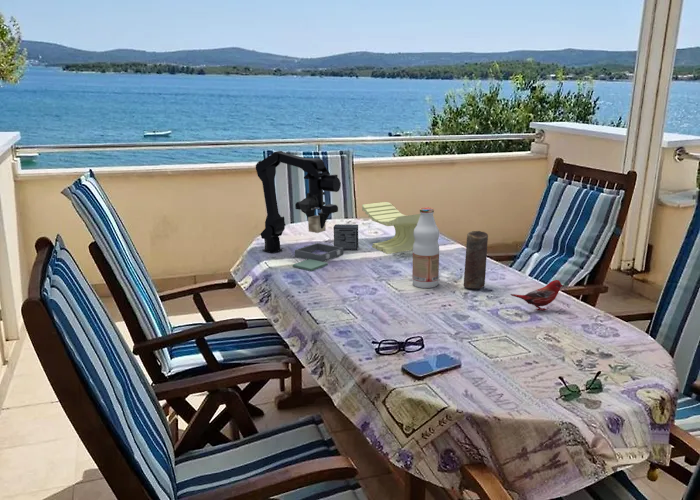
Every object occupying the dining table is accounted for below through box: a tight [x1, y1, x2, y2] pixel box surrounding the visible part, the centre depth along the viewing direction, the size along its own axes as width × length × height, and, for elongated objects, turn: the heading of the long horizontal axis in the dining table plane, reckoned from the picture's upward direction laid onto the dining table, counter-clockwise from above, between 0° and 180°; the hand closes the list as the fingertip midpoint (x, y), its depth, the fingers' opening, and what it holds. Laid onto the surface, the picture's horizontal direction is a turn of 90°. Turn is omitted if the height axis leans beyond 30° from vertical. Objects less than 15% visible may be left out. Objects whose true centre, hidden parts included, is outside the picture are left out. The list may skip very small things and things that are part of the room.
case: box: [294, 242, 344, 262], centre depth 258 cm, size 15×15×3 cm
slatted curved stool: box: [361, 201, 421, 255], centre depth 266 cm, size 30×16×18 cm, turn 28°
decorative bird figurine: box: [510, 279, 564, 312], centre depth 192 cm, size 3×18×10 cm, turn 100°
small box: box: [333, 223, 359, 251], centre depth 268 cm, size 11×6×10 cm, turn 84°
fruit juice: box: [411, 206, 440, 289], centre depth 216 cm, size 9×9×28 cm
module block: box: [307, 214, 327, 234], centre depth 251 cm, size 5×5×6 cm
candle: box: [463, 230, 489, 290], centre depth 213 cm, size 8×7×20 cm
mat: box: [292, 259, 329, 272], centre depth 244 cm, size 10×10×1 cm
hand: (317, 227), depth 252 cm, fingers closed on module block, 5 cm apart
